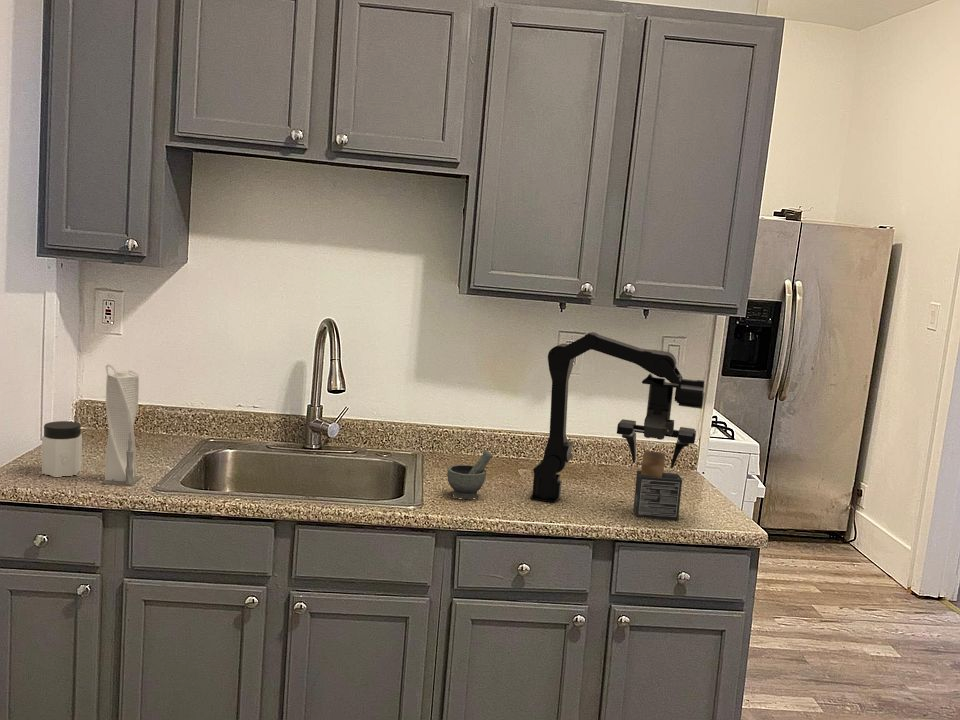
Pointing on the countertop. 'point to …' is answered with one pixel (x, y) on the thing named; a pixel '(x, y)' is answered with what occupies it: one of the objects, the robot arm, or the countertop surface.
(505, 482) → the countertop surface
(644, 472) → the block
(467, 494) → the mortar and pestle
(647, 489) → the small box
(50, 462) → the jar
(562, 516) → the countertop surface
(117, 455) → the skyscraper
